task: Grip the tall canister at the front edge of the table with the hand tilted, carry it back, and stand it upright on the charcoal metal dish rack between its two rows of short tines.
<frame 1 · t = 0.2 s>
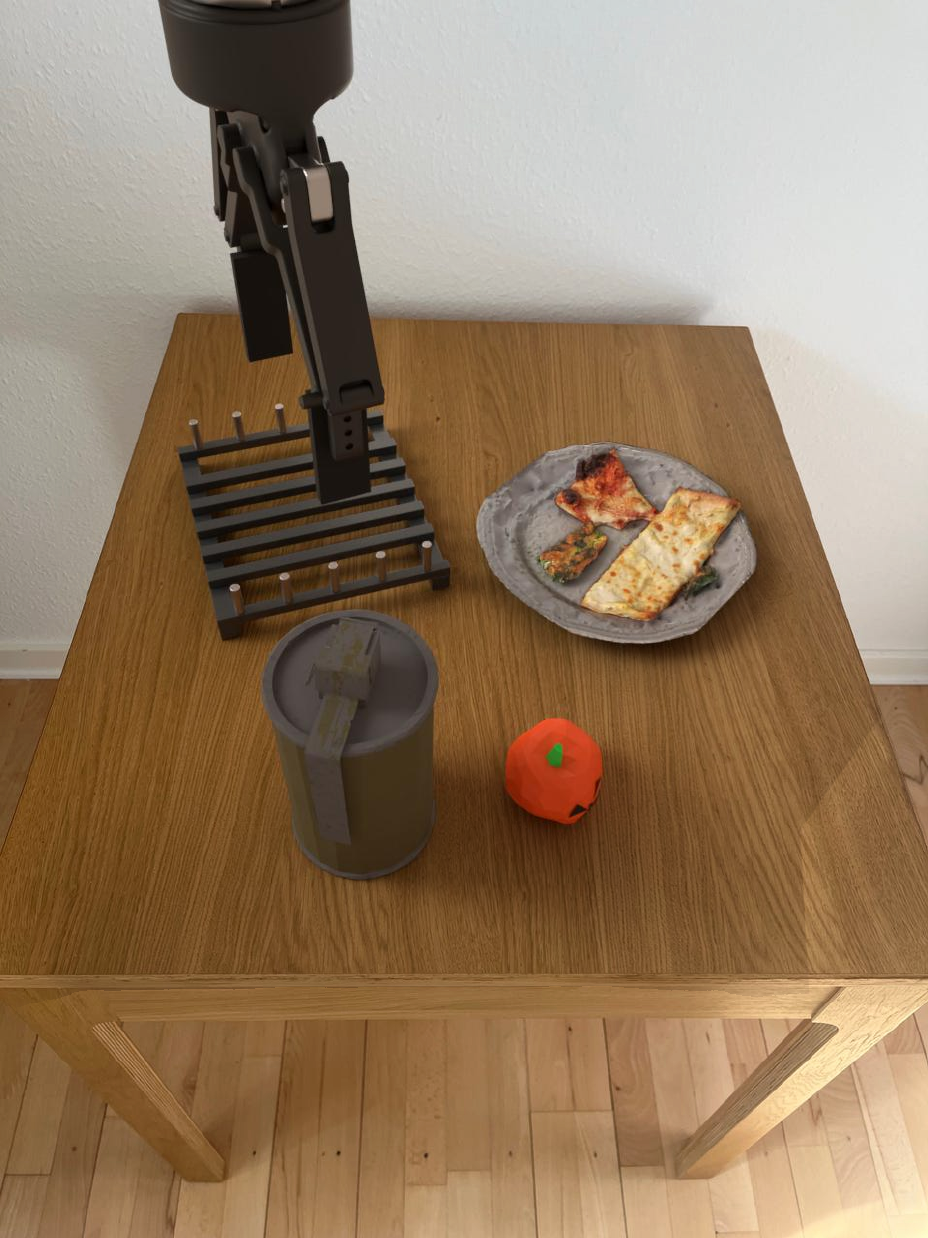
hand: (304, 419, 53), 28 cm above the table, tool pointing down, fingers open, 13 cm apart
canister: (363, 816, 69), on the table
food plate: (614, 549, 87), on the table
dish rack: (309, 524, 87), on the table
pumpkin: (550, 787, 71), on the table
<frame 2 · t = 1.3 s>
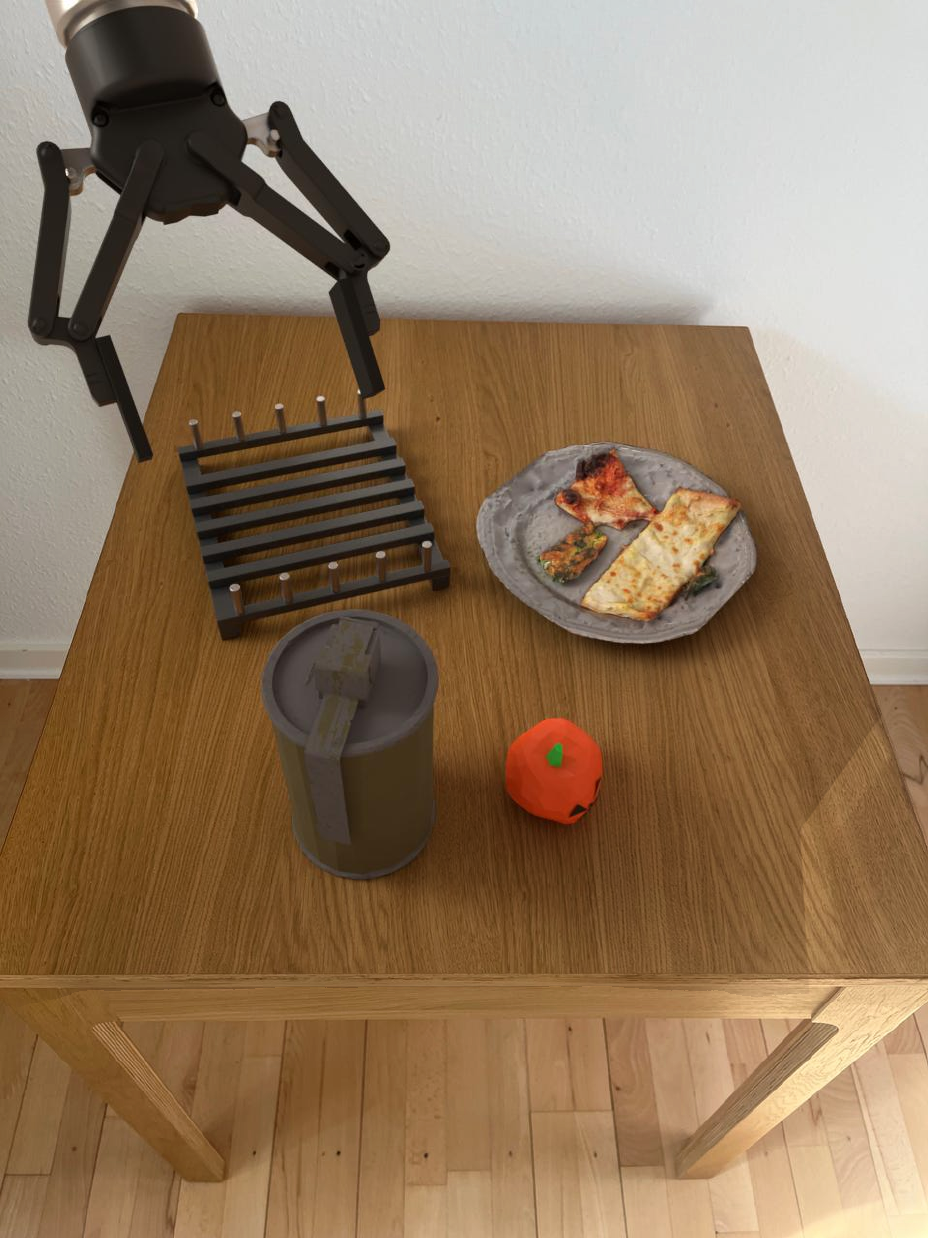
hand: (264, 426, 54), 27 cm above the table, tool tilted 45°, fingers open, 13 cm apart
nothing on the table moved.
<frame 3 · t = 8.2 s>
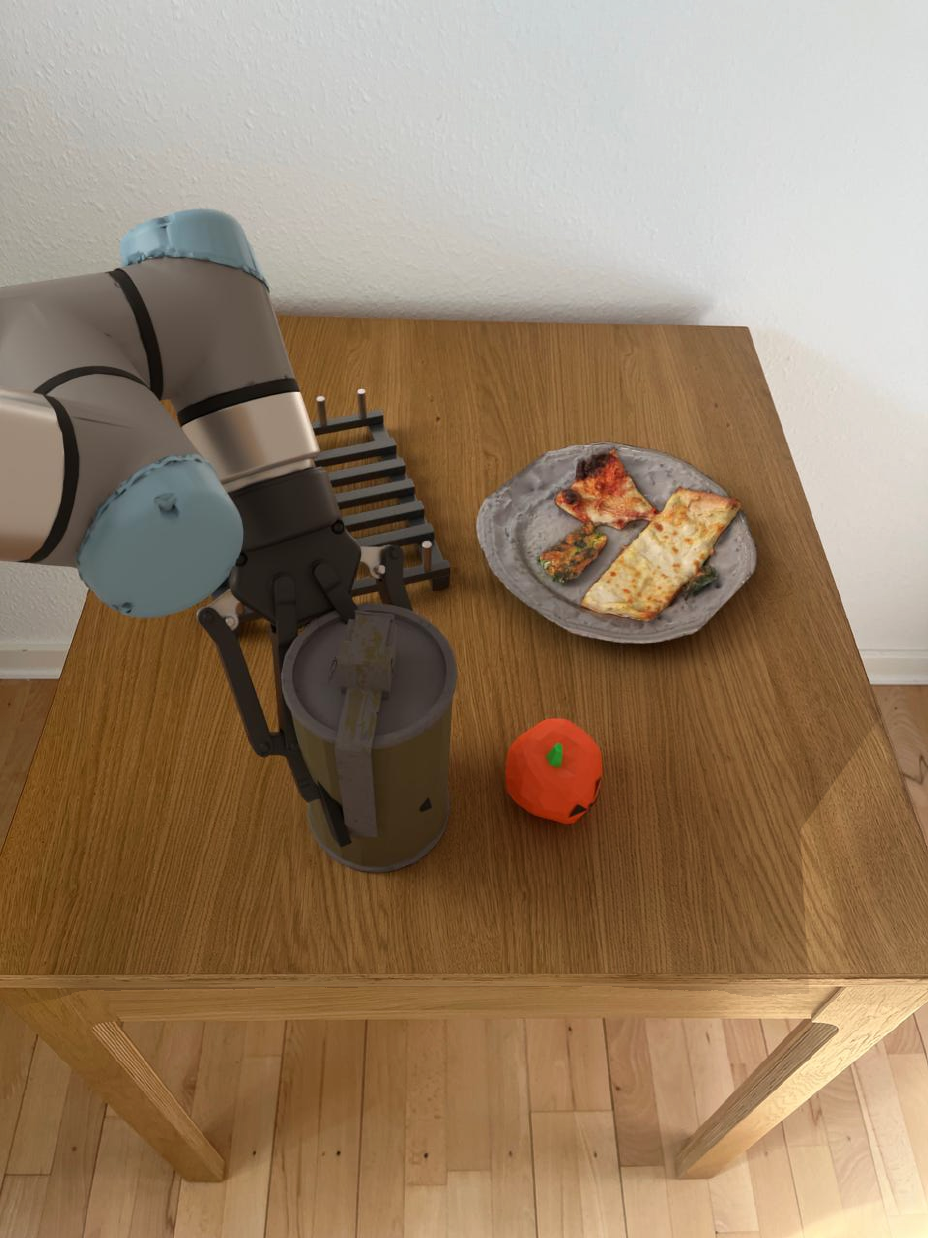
hand: (381, 821, 62), 6 cm above the table, tool tilted 45°, fingers closed on canister, 5 cm apart
canister: (379, 810, 69), on the table, touching gripper
everything else where it was.
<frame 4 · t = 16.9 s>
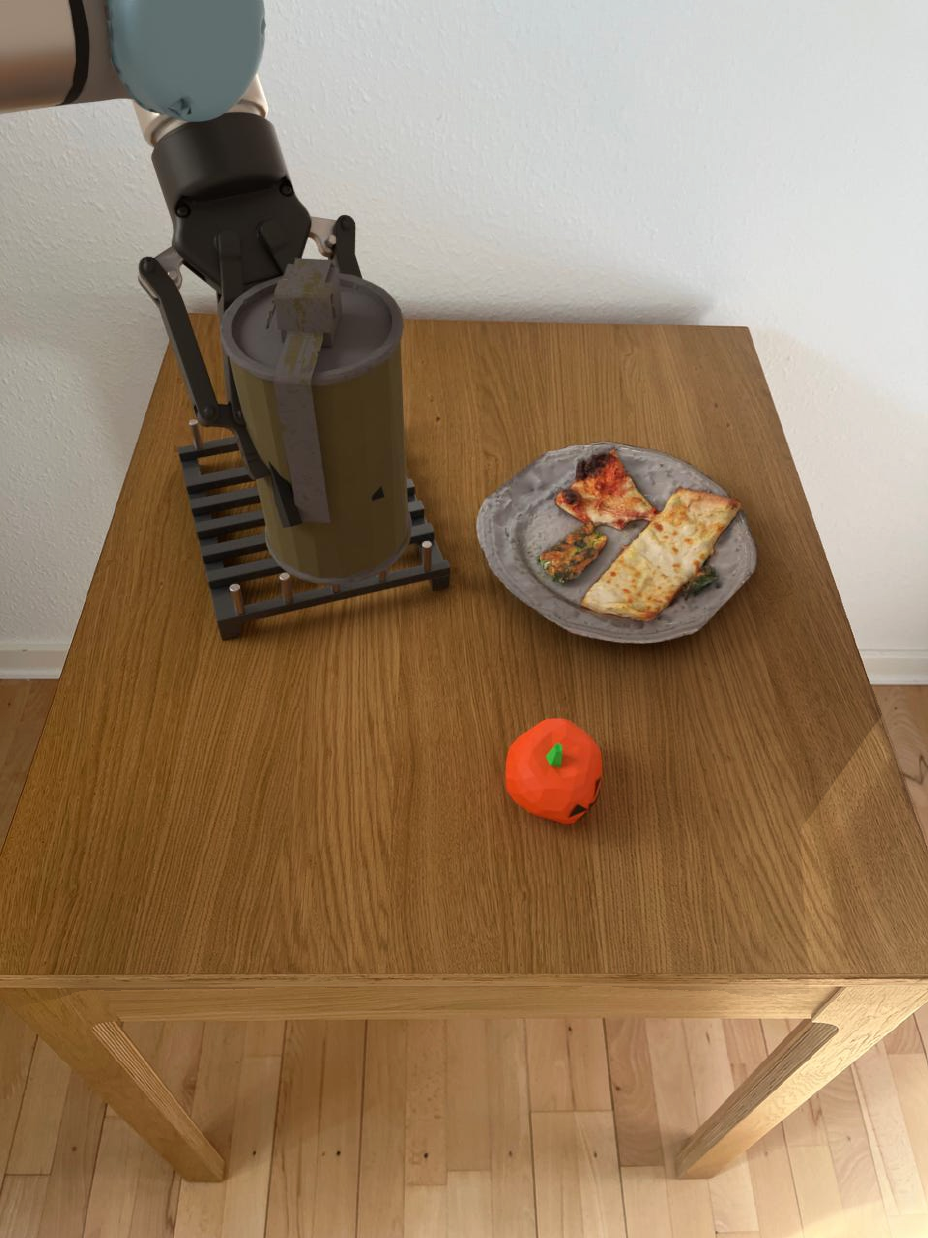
hand: (333, 511, 60), 20 cm above the table, tool tilted 45°, fingers closed on canister, 5 cm apart
canister: (338, 534, 67), point 14 cm above the table, touching gripper
everything else where it was.
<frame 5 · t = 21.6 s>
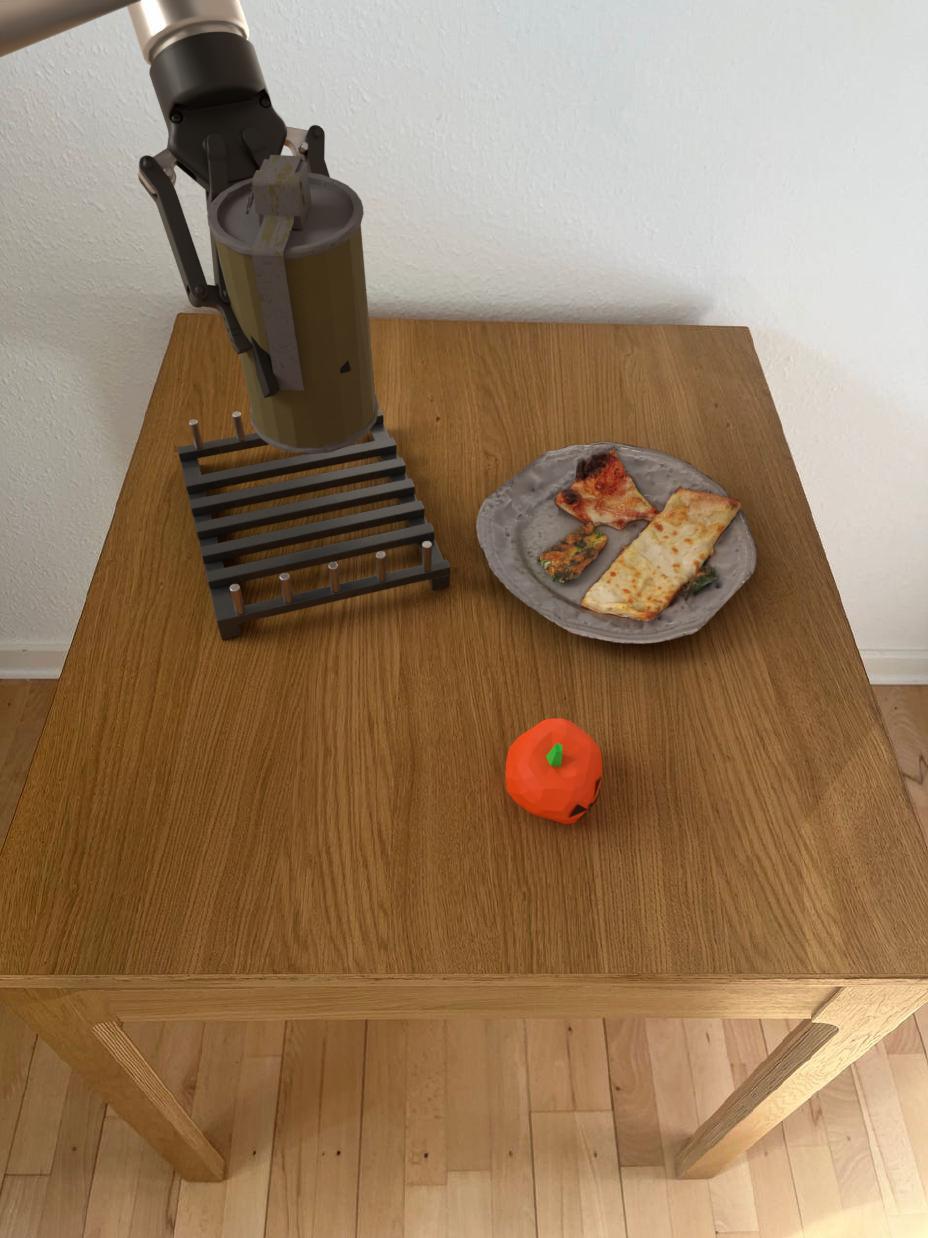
hand: (307, 383, 69), 19 cm above the table, tool tilted 45°, fingers closed on canister, 5 cm apart
canister: (314, 415, 77), point 13 cm above the table, touching gripper
everything else where it was.
when the fingers open (9 cm above the table, at t = 25.8 s): canister stays where it is, resting on dish rack.
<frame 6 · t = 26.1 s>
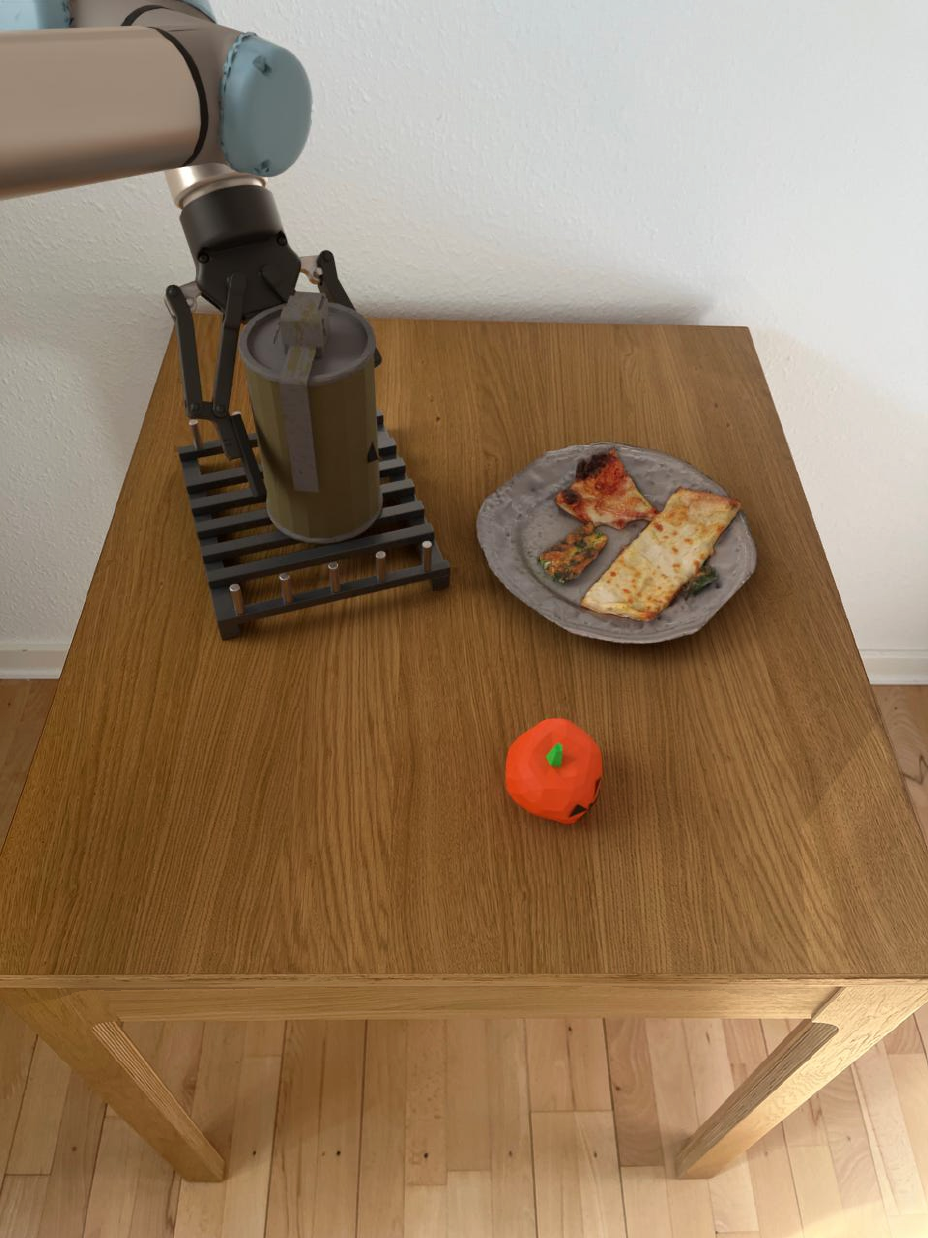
hand: (316, 478, 77), 9 cm above the table, tool tilted 45°, fingers open, 9 cm apart
canister: (324, 505, 85), point 2 cm above the table, touching dish rack
everything else where it was.
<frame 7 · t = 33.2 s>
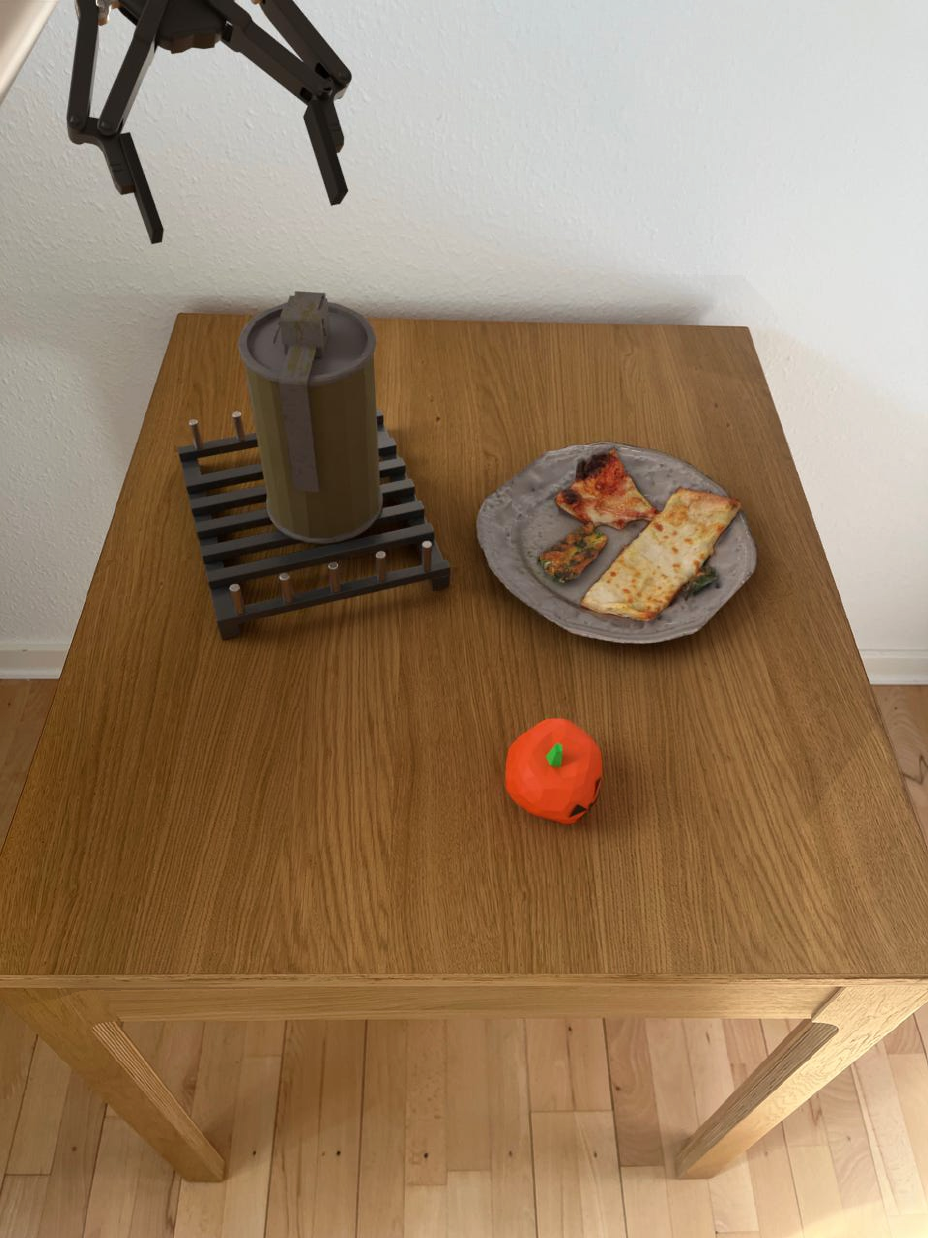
hand: (251, 217, 68), 28 cm above the table, tool tilted 45°, fingers open, 13 cm apart
nothing on the table moved.
at the end: canister inside the target area on the dish rack (1.6 cm from its centre), point 2.4 cm above the dish rack's base; canister tilted 0°; the gripper is holding nothing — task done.
